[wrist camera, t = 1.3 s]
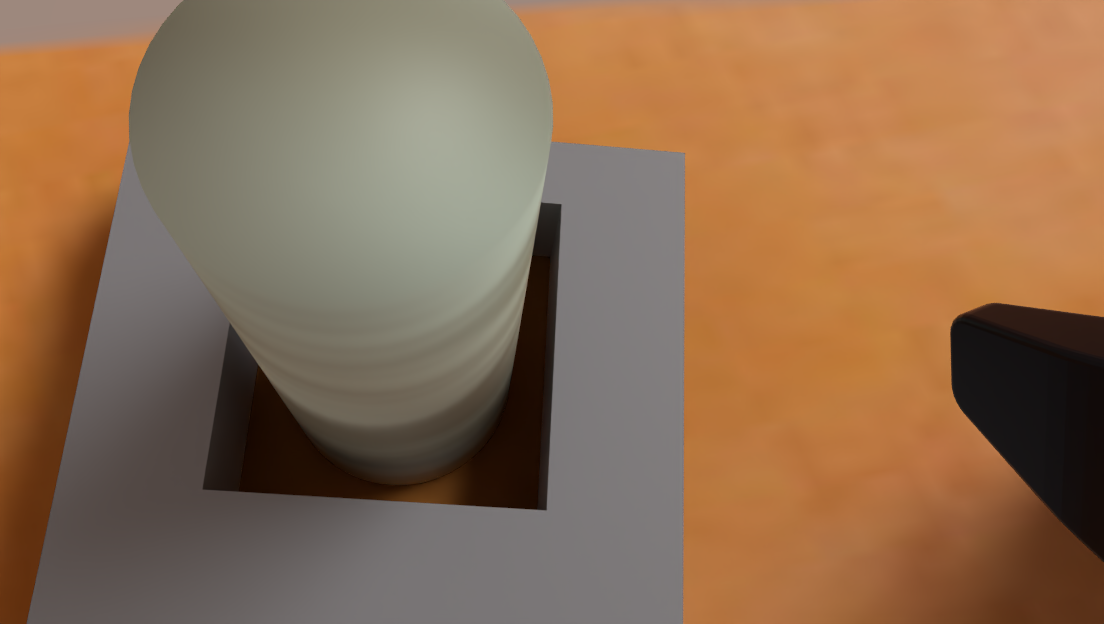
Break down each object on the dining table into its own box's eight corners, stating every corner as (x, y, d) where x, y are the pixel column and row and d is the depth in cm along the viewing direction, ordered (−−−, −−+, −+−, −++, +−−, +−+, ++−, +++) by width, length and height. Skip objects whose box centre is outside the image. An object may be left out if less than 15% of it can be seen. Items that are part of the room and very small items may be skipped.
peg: (502, 492, 23) (542, 320, 11) (277, 478, 22) (88, 287, 11) (515, 285, 24) (562, -44, 13) (306, 269, 24) (169, -82, 13)
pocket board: (650, 941, 20) (681, 987, 17) (28, 921, 19) (-46, 964, 16) (660, 209, 25) (684, 152, 22) (173, 171, 25) (136, 106, 22)
